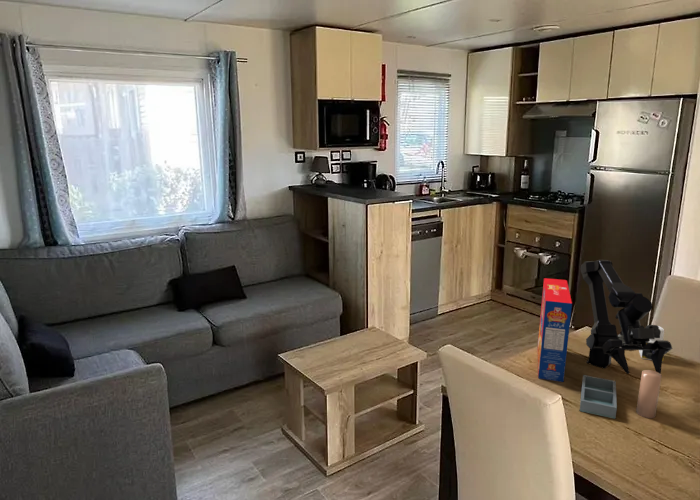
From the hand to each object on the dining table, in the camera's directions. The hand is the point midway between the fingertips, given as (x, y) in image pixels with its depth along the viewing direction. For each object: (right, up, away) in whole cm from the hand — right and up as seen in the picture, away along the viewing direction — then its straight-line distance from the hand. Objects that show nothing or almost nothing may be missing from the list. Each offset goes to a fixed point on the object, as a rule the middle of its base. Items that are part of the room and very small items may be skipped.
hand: (643, 373), depth 153 cm
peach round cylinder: (0, -12, -2) cm, 12 cm away
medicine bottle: (+24, -3, +37) cm, 44 cm away
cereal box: (-16, -4, +32) cm, 36 cm away
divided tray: (-11, -10, +6) cm, 16 cm away
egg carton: (+16, 0, +48) cm, 51 cm away
